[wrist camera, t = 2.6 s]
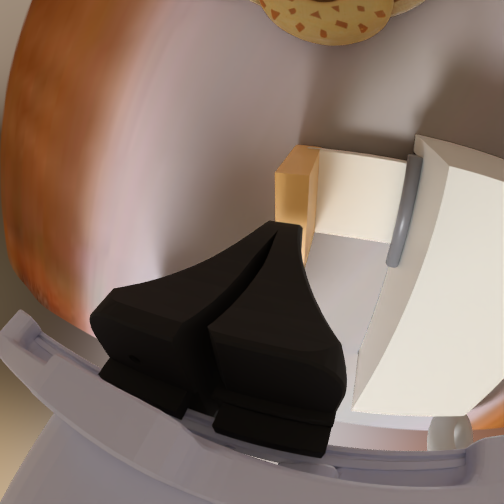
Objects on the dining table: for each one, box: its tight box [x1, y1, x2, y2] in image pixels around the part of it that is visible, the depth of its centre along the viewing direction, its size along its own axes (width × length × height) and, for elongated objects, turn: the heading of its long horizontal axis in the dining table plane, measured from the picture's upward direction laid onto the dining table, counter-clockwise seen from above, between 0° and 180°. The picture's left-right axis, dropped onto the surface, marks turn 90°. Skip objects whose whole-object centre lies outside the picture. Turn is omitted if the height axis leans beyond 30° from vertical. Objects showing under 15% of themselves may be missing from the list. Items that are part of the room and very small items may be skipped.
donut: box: [427, 414, 473, 451], centre depth 21 cm, size 10×3×10 cm, turn 60°
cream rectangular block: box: [351, 134, 504, 416], centre depth 14 cm, size 12×19×6 cm, turn 2°
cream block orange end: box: [275, 145, 407, 268], centre depth 12 cm, size 15×5×5 cm, turn 92°
